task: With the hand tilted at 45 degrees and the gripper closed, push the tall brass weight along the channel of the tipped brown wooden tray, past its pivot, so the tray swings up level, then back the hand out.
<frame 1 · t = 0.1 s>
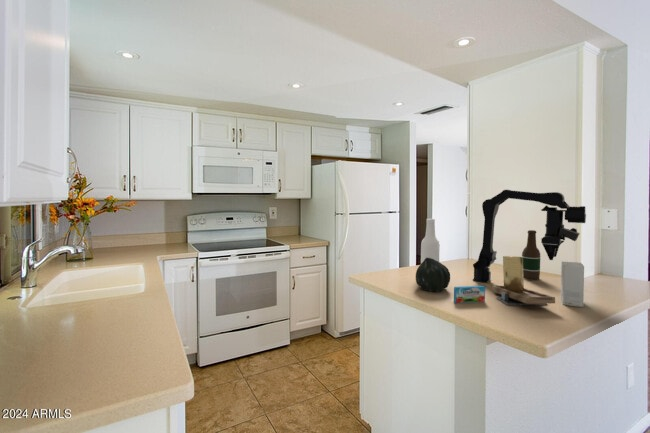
hand: (552, 258, 138), 15 cm above the counter, tool pointing down, fingers open, 9 cm apart
alcohol: (429, 278, 163), on the counter
beer bottle: (530, 278, 162), on the counter
pivot stand: (520, 301, 127), on the counter
skincare box: (571, 303, 125), on the counter
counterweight: (513, 291, 132), point 3 cm above the counter, tilted 6°, touching brown wooden tray
brown wooden tray: (521, 293, 127), point 3 cm above the counter, hinge at -6.1°, touching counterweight
squash: (432, 289, 145), on the counter
yogurt: (469, 302, 127), on the counter
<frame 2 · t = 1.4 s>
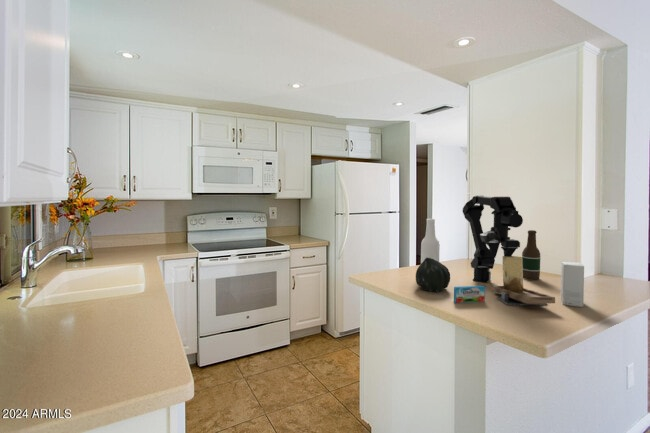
hand: (499, 260, 143), 13 cm above the counter, tool pointing down, fingers open, 9 cm apart
nothing on the counter moved.
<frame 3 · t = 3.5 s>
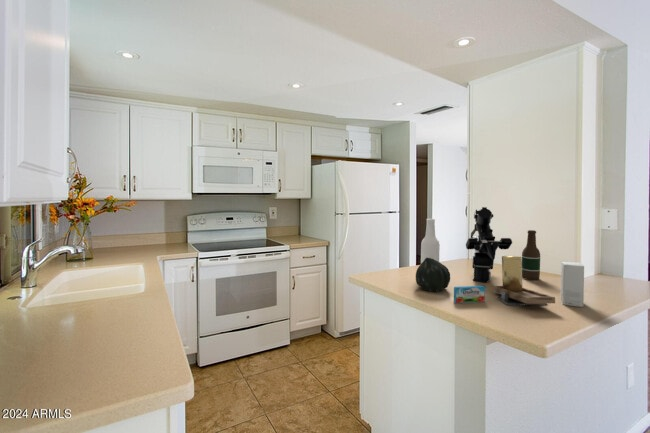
hand: (493, 259, 144), 13 cm above the counter, tool tilted 45°, fingers closed
nothing on the counter moved.
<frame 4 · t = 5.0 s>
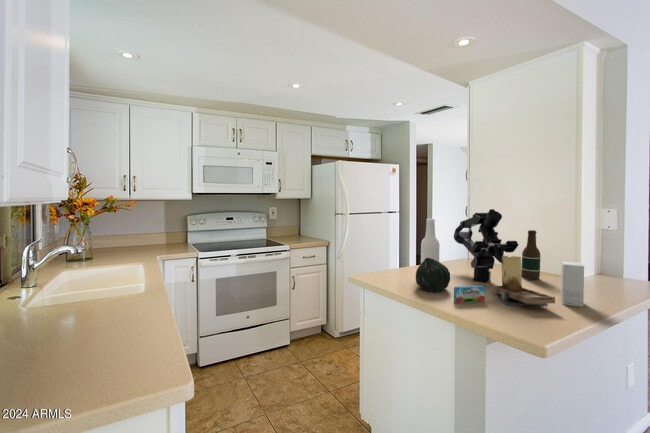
hand: (501, 262, 140), 13 cm above the counter, tool tilted 45°, fingers closed
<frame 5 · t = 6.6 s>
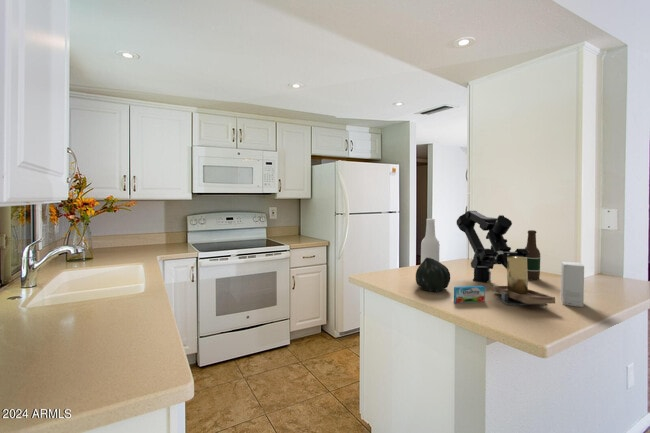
hand: (511, 271, 133), 10 cm above the counter, tool tilted 45°, fingers closed
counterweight: (517, 292, 129), point 3 cm above the counter, tilted 6°, touching brown wooden tray
everything else where it was.
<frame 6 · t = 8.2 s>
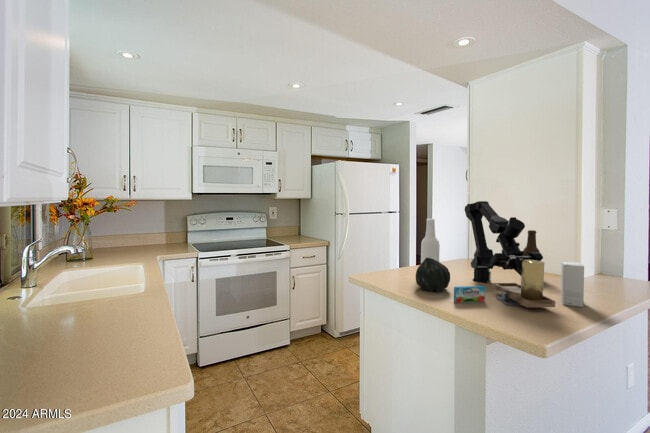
hand: (524, 277, 125), 10 cm above the counter, tool tilted 45°, fingers closed
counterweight: (531, 298, 121), point 3 cm above the counter, touching brown wooden tray, gripper
brown wooden tray: (521, 293, 127), point 3 cm above the counter, hinge at 0.7°, touching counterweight
everything else where it was.
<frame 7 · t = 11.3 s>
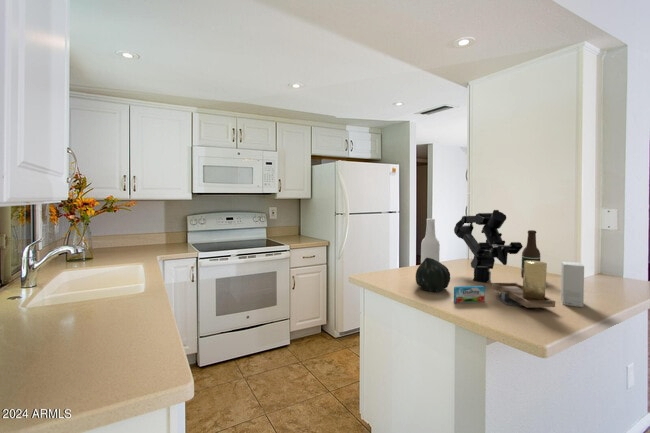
hand: (505, 264, 138), 12 cm above the counter, tool tilted 45°, fingers closed
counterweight: (533, 299, 120), point 3 cm above the counter, touching brown wooden tray
everything else where it was.
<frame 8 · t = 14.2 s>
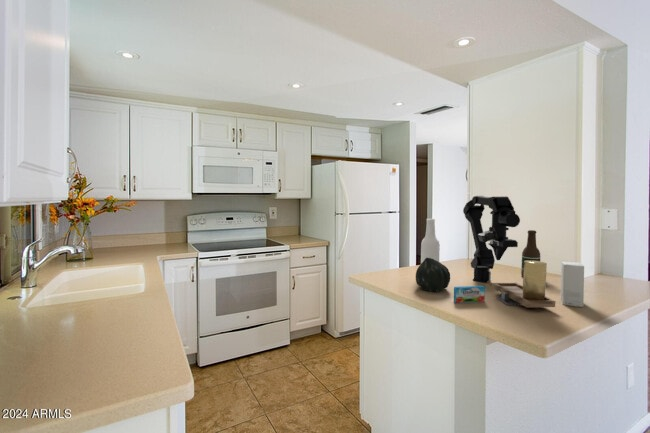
hand: (498, 260, 143), 13 cm above the counter, tool pointing down, fingers closed
nothing on the counter moved.
at the end: brown wooden tray at +1° (first picture: -6°); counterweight 2.8 cm from the target spot on the brown wooden tray, point 0.5 cm above the brown wooden tray's base; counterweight tilted 1° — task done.
